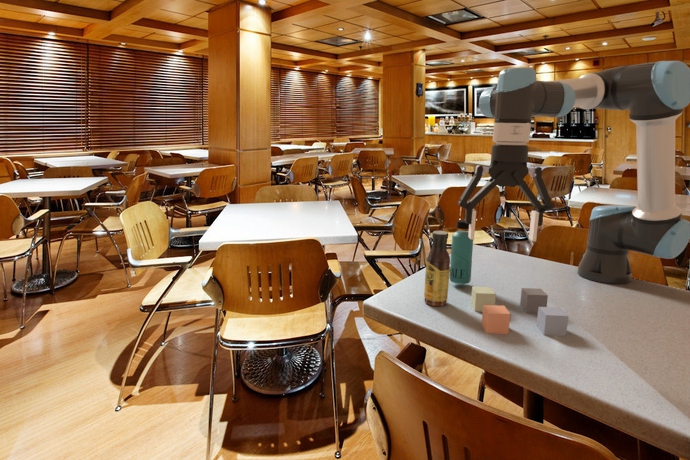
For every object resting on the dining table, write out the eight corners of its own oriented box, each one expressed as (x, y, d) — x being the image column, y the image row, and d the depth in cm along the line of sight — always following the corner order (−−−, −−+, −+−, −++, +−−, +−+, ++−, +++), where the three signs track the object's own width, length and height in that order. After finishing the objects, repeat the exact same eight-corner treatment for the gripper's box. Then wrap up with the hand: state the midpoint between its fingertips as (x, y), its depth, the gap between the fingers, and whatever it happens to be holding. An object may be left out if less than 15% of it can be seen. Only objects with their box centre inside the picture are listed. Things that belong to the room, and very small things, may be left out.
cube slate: (557, 327, 110) (560, 307, 109) (566, 336, 105) (568, 315, 104) (536, 326, 110) (538, 306, 109) (543, 335, 106) (546, 315, 104)
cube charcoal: (539, 306, 123) (540, 288, 122) (545, 313, 118) (547, 295, 117) (519, 305, 123) (521, 288, 122) (525, 313, 118) (527, 294, 117)
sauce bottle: (421, 299, 127) (424, 229, 122) (443, 298, 127) (447, 228, 123) (427, 308, 121) (431, 234, 116) (450, 307, 121) (455, 234, 117)
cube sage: (489, 304, 124) (491, 287, 122) (494, 312, 119) (495, 293, 118) (470, 304, 124) (472, 286, 123) (474, 311, 119) (476, 293, 118)
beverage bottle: (468, 282, 141) (473, 218, 136) (472, 289, 134) (477, 223, 130) (447, 281, 142) (451, 218, 137) (449, 288, 135) (454, 222, 131)
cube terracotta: (502, 325, 111) (504, 305, 110) (508, 334, 106) (510, 313, 105) (481, 324, 111) (483, 304, 110) (486, 333, 106) (488, 313, 105)
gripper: (454, 143, 96) (448, 241, 101) (577, 145, 95) (564, 244, 99) (449, 142, 104) (443, 233, 108) (562, 144, 102) (551, 236, 107)
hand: (501, 239), depth 104 cm, fingers open, 13 cm apart
